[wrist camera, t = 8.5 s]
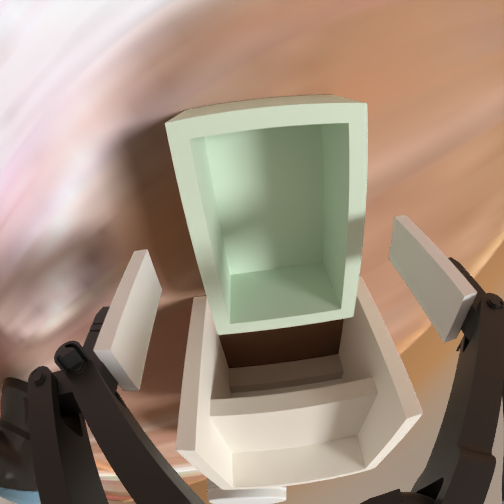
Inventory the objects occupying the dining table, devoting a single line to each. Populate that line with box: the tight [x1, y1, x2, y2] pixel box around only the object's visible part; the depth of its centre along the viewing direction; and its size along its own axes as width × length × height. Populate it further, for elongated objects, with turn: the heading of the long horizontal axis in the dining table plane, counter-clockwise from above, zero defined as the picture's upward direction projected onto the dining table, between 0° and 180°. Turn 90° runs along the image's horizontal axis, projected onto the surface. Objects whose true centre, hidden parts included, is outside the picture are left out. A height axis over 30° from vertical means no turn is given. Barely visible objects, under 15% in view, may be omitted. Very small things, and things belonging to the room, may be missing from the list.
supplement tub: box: [207, 478, 287, 504], centre depth 31 cm, size 10×10×15 cm
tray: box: [165, 94, 368, 335], centre depth 19 cm, size 10×14×6 cm
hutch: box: [176, 276, 423, 490], centre depth 24 cm, size 15×14×14 cm
